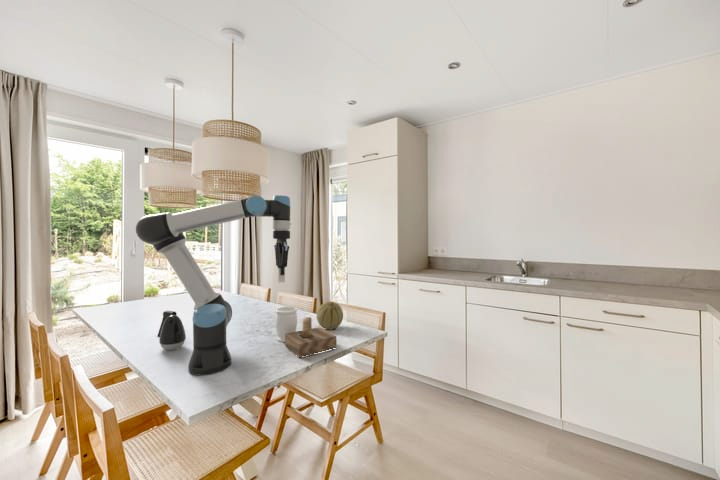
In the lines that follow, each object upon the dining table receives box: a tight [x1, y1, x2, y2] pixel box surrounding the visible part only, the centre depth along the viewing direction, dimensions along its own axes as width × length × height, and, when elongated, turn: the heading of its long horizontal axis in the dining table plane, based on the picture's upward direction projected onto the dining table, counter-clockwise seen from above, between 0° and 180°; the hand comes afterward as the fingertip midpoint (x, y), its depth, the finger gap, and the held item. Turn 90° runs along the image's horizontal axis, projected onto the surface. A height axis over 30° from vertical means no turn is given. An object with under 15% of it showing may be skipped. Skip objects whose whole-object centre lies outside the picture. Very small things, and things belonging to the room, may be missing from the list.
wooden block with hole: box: [284, 326, 337, 358], centre depth 141 cm, size 18×16×6 cm
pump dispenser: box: [159, 315, 187, 352], centre depth 140 cm, size 10×10×15 cm
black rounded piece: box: [157, 310, 178, 338], centre depth 159 cm, size 9×6×12 cm, turn 159°
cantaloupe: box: [316, 301, 344, 330], centre depth 169 cm, size 15×15×15 cm
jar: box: [274, 306, 298, 343], centre depth 152 cm, size 11×10×15 cm
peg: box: [302, 316, 313, 339], centre depth 139 cm, size 4×4×12 cm
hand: (281, 281), depth 141 cm, fingers closed
